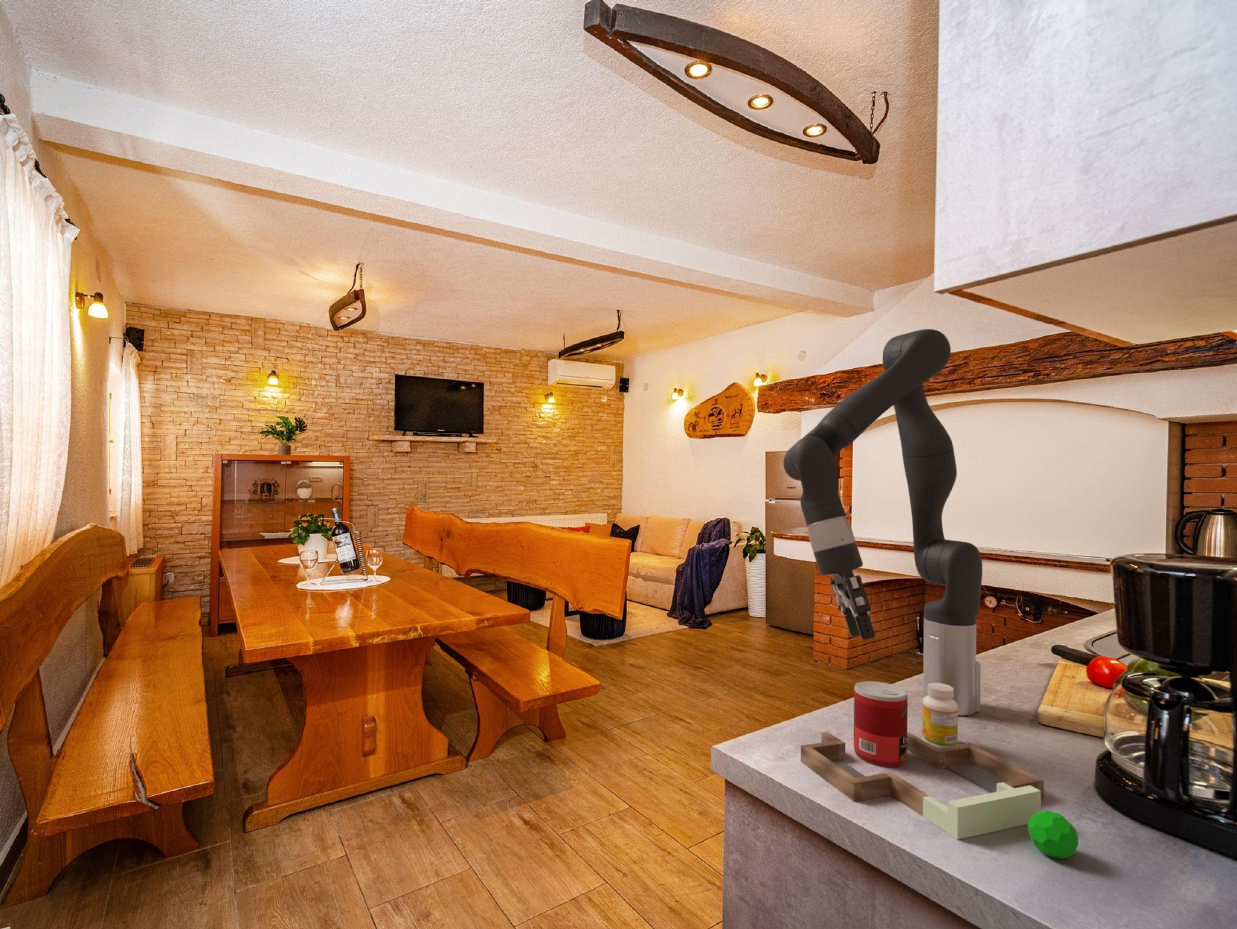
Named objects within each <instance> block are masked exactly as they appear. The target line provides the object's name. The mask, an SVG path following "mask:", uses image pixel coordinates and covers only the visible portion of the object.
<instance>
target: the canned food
mask: <svg viewBox="0 0 1237 929" xmlns="http://www.w3.org/2000/svg"><path fill="white" fill-rule="evenodd" d="M853 692H854V693H853V698H854V699H853V700H854V701H853V704H854V705H853V749H854V753H855V755H856V756H857V757H858V758H859V759H860V760H862V761H864V762H865V763H869V764H871V765H876V766H878V767H879V766H880V767H884V766H885V767H886V768H895V767H896V768H897V767H900V766H903V765H904V764H905V762H906V760H907V758H908V751H907V732H908V711H909V710H908V708H909V707H908V706H909V705H908V702H909V701H908V700H909V699H908V693H907V692H908V691H907V690H905V689H904V688H902V687H900V686H897V685H896V684H891V683H886V682H882V681H868V680H867V681H866V680H865V681H860V682H857V683H855V684H854V691H853Z"/></svg>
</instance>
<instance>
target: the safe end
mask: <svg viewBox="0 0 1237 929" xmlns="http://www.w3.org/2000/svg"><path fill="white" fill-rule="evenodd" d="M1041 799H1042V798H1041V791H1040V790H1038V789H1036V788H1034V787H1032V786H1024V787H1019V788H1013V787H1011V786H1009V785H1007V784H1005V783H1003V782H1002V783H997V792H994V793H991V792H988V793H985V794H979V795H974V796H970V797H969V796H968V797H964V798H958V799H953V800H948V801H947V805H945V804H943V803H942V802H940V801H939V800H937V799H935V798H934V797H932V796H931V795H929V796H928V797H923V816H922V817H924V819H926V820H927V821H929V822H930V823H932V824H933V825H935V826H937V827H938V828H939V829H941V830H942V831H944V832H945V833H947V834H948V835H950V836H951V837H953V838H954V839H956V840H961V839H966V838H972V837H974V836H980V835H984V834H988V833H992V832H993V833H994V832H998V831H1003V830H1007V829H1012V828H1015V827H1021V826H1025V825H1028V823H1029V821H1030V818H1031V816H1032V815H1034V814H1036V813H1038V812H1041V811H1042V810H1041V809H1042V808H1041V807H1042V806H1041V804H1042V802H1041Z"/></svg>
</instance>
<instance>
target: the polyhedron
mask: <svg viewBox="0 0 1237 929" xmlns="http://www.w3.org/2000/svg"><path fill="white" fill-rule="evenodd" d="M1027 831H1028V834H1029V837H1030V840H1031V842H1032V843H1033V845H1034V846H1036V848H1037V849H1038V850H1039V851H1040V852H1041V853H1043V854H1045V855H1047V857H1048V856H1049V857H1053V858H1055V859H1060V860H1061V859H1062V860H1063V859H1067V858H1069V857H1072V856H1073V855H1074V854H1075V853H1076V851H1077V849H1078V845H1079V837H1078V834H1077V830H1076V828H1075V827H1074V826H1073V824H1072V823H1071V822H1070V821H1068V819H1066V818H1065V816H1063V815H1062V814H1060V813H1059V812H1056V811H1051V810H1048V809H1047V810H1041V812H1038V813H1036V814H1034V815H1032V816H1031V818H1030V821H1029V823H1028V824H1027Z"/></svg>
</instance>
